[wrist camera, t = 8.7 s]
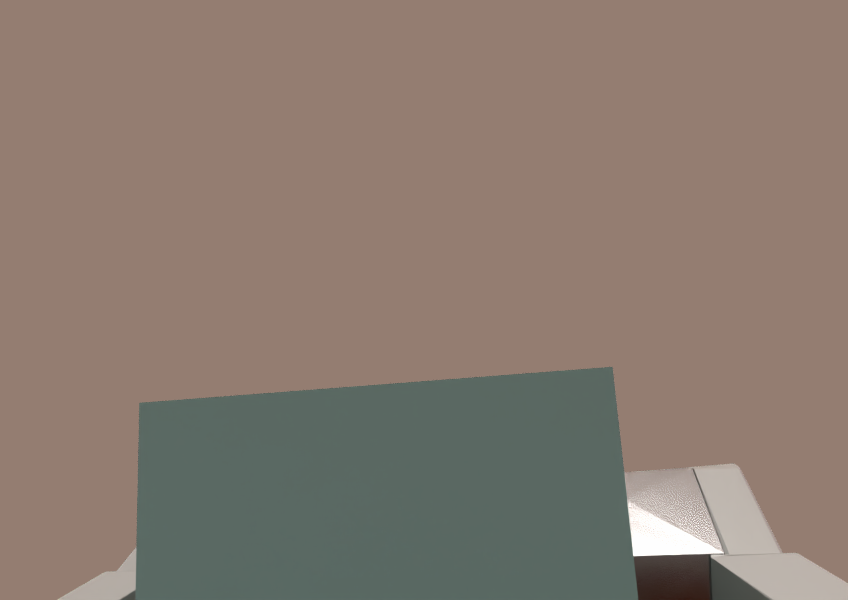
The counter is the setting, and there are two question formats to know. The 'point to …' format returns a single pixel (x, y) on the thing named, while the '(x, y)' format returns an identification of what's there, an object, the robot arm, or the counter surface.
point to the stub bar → (388, 493)
